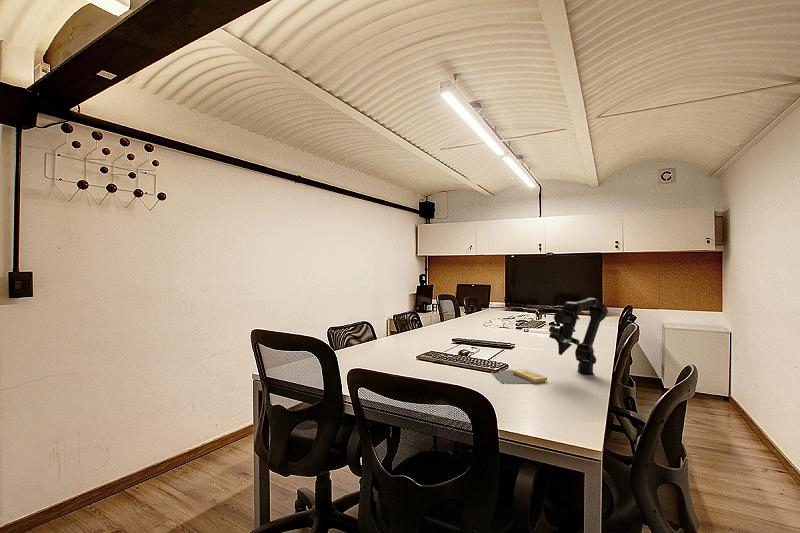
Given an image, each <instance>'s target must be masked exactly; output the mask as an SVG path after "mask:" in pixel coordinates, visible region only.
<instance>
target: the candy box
mask: <svg viewBox="0 0 800 533" xmlns="http://www.w3.org/2000/svg"><path fill="white" fill-rule="evenodd" d="M512 370H513V374H516V375H518V376H520V377H523V378H525V379H528V380H530V381H533V382H541V383H542V382H548V377H547V376H545V375H542V374H539V373H537V372H533V371H532V370H529V369H527V368H520V369H512Z"/></svg>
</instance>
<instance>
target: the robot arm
mask: <svg viewBox="0 0 800 533" xmlns="http://www.w3.org/2000/svg"><path fill="white" fill-rule="evenodd" d="M586 309H587V310H588V311H589V314H588V315H589V317H590V320H589V322H588V326H587V327H586V331H585V334H584V337H583V340H582V342H581V343H580V339H577V338H575V337H573V334H574V333H576V331H577V330H576V329H575V327H576V324H577V321H578V320H580V317H579V315H578V314H581V312H582V311H583V310H586ZM608 312H609V309H608V307H607V306H606V305H605V304H604V303H602V302H601V301H600V300H599V299H598V298H596V297H595V298H594V297H587V298H585V299H582V300H579V301H566V302H565V303H564V305H563V306H562V308H561V309H558V311H557V312H556V313H555V314H554V315H553V319H554V322H556V323H557V324H561V325H560V326H559V327H556V326H554V325H550V327H549V329H548V332H549V336H548V337H549V338H551V339H554V340H555V341H556V343H557V346H558V355H559V356H562V355H563V354H564V353H565V352H566V351H567V350H568V349H569V348H570V347H571V346H573V344H574V345H576V349H575V351H574V354H575V359H576V360H575V361H578V364H577V370H576V371H577V372H578V373H580V374H581V375H590V376H591V375H592V376H593V375H595V373H594V364H595V365H596V364H597V357H596V356H595V349H594V347H593V345H594V342H595V338H596V336H597V332H598V329H599V327H600V324H601V322H603V321H604V320H605V318H606V317H607V315H608Z"/></svg>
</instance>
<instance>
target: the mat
mask: <svg viewBox="0 0 800 533" xmlns="http://www.w3.org/2000/svg"><path fill="white" fill-rule="evenodd" d="M502 370H503V371H500V372H499V373H493V372H490V373H491V374H492V375H493V376H494V377H495V379H496V380H497V381H498V380H499V381H500V382H501V383H513V385H519V384H522V385H526V384H529V385H531V384H532V385H534V384H535V385H541V384H542V382H533V381H530V380H528V379H525V378H523V377H520V376H518V375H516V374H513V370H514V369H502ZM499 381H498V382H499ZM500 382H499V383H500ZM501 383H500V384H501ZM514 383H516V384H514Z"/></svg>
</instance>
